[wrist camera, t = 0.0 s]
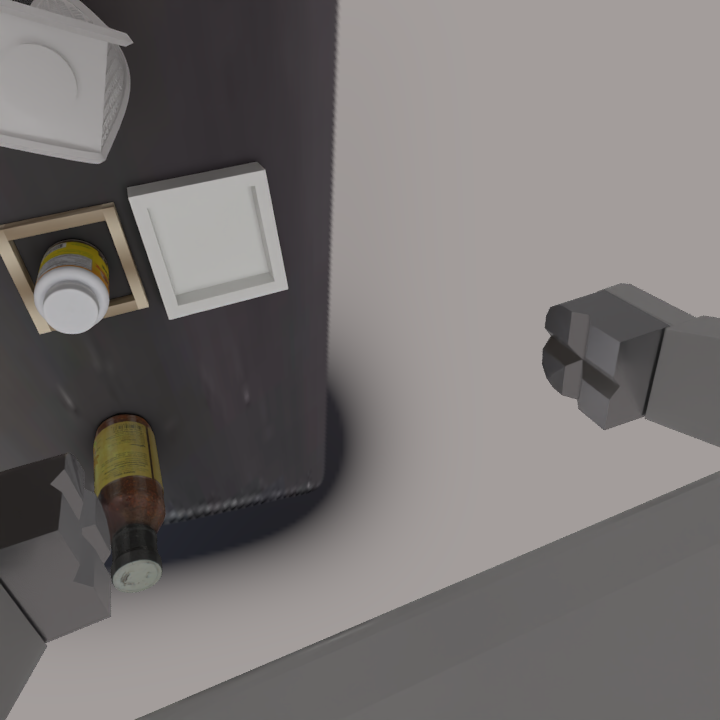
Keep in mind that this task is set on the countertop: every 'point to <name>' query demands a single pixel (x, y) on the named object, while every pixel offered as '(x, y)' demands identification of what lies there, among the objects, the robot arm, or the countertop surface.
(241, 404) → the countertop surface
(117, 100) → the skyscraper
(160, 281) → the tray
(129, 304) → the wooden frame
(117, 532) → the sauce bottle
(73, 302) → the supplement bottle
